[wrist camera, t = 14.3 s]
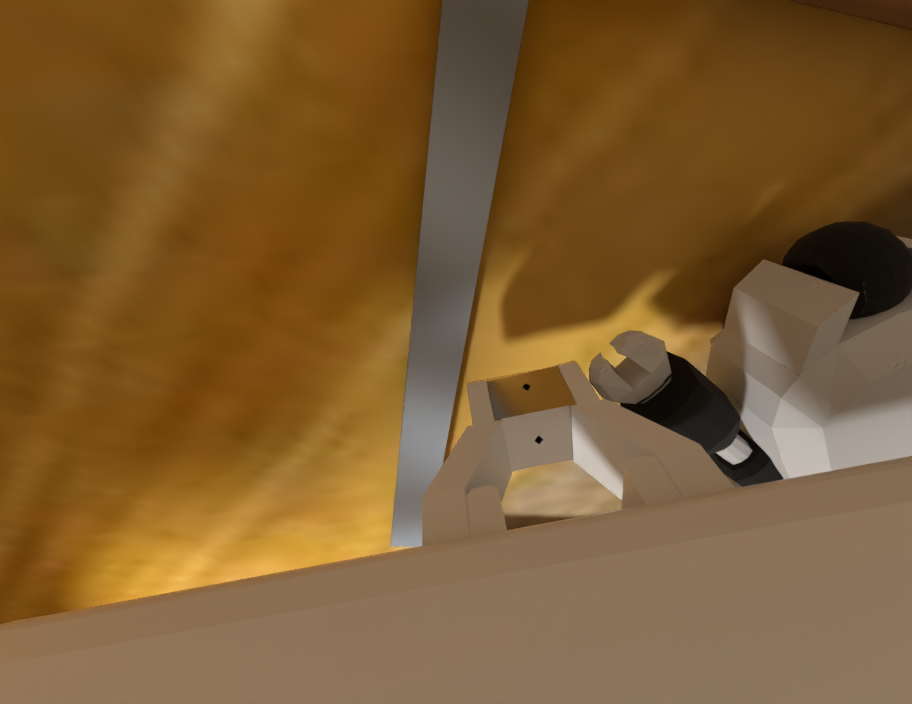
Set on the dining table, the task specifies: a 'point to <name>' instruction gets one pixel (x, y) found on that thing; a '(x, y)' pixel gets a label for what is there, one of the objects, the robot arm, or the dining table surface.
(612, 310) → the dining table surface
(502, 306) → the dining table surface
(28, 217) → the dining table surface
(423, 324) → the track
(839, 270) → the robot toy
